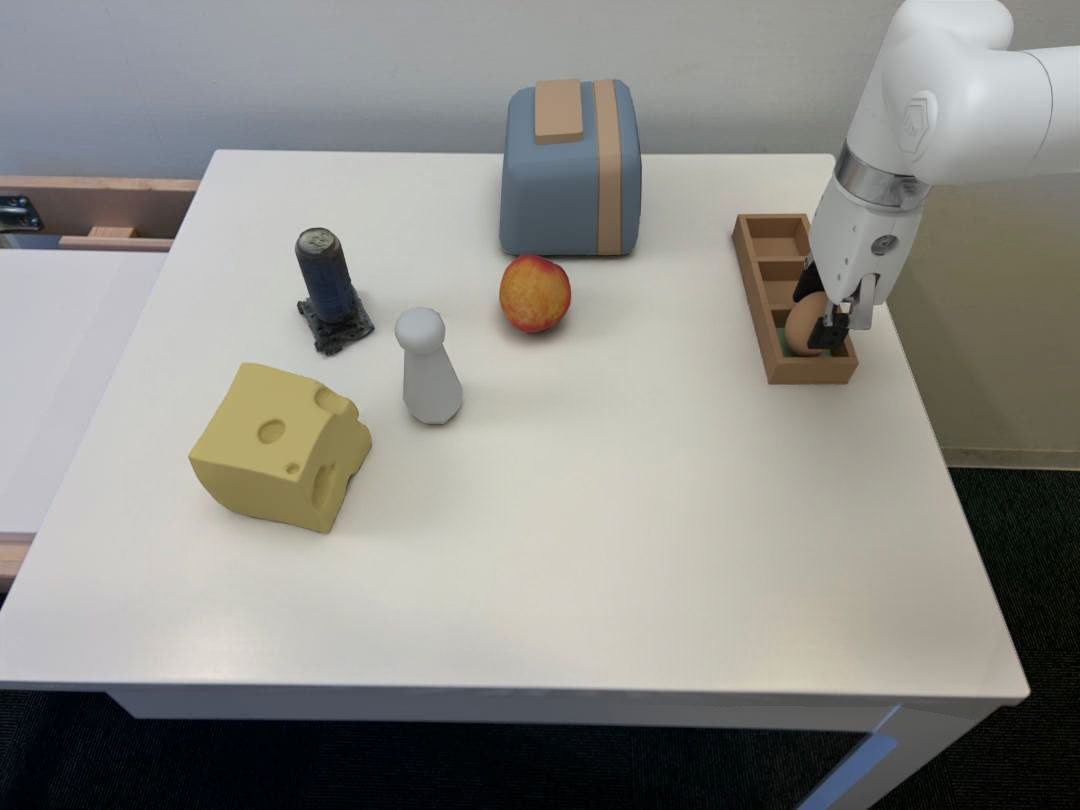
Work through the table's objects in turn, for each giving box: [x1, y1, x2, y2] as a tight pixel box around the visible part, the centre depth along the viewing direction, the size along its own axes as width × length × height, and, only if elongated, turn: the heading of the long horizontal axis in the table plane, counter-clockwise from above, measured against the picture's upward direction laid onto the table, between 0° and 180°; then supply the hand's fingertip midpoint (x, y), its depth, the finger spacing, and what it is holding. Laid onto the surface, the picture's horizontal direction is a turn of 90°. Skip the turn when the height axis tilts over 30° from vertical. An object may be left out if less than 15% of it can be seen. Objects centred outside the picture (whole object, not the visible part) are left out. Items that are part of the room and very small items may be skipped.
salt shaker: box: [394, 306, 464, 425], centre depth 65 cm, size 6×6×13 cm
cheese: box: [187, 362, 373, 534], centre depth 61 cm, size 10×11×10 cm
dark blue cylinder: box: [294, 226, 376, 356], centre depth 72 cm, size 9×8×12 cm
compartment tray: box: [731, 212, 860, 385], centre depth 77 cm, size 23×8×3 cm, turn 0°
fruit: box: [498, 254, 572, 333], centre depth 74 cm, size 8×8×8 cm
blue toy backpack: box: [498, 77, 643, 256], centre depth 80 cm, size 16×16×16 cm
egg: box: [785, 291, 843, 357], centre depth 70 cm, size 5×5×8 cm
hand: (815, 321), depth 70 cm, fingers open, 5 cm apart
